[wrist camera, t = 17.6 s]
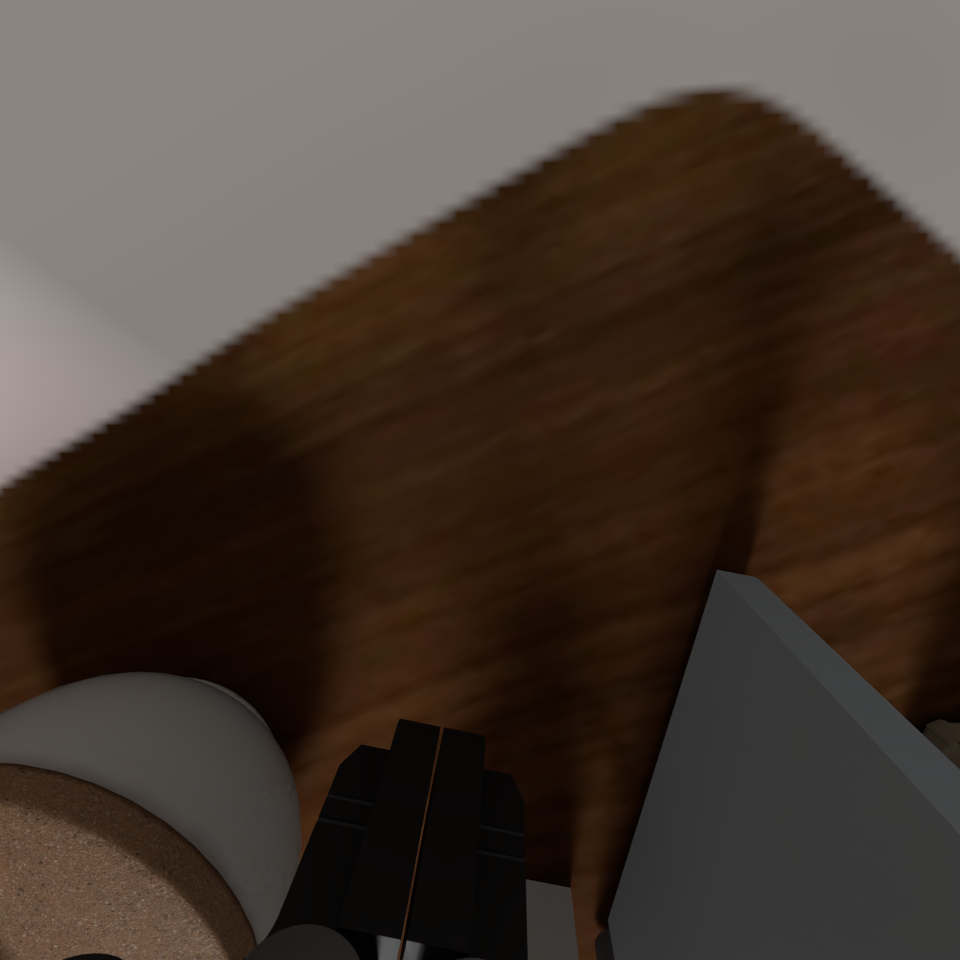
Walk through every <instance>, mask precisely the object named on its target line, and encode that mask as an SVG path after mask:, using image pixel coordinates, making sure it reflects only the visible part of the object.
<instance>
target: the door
mask: <svg viewBox="0 0 960 960" xmlns="http://www.w3.org/2000/svg"><path fill="white" fill-rule="evenodd" d="M608 924H609V928H608V929H606V930H604V931H602V932H601V933H600V934H599V935H598V936H597V938H596V941H595V949H596V956H597V960H960V769H959V768H958V767H956V766H955V765H954V764H953V763H952V762H951V761H950V760H949V759H948V758H947V757H946V756H945V755H944V754H943V753H942V752H941V751H940V750H939V749H937V748H936V747H935V746H934V745H933V744H932V743H931V742H930V741H929V740H928V739H927V738H926V737H925V736H924V735H923V734H922V733H921V732H920V731H918V730H917V729H916V728H915V727H914V726H913V725H912V724H911V723H910V722H909V721H908V720H907V719H906V718H905V717H904V716H903V715H902V714H900V713H899V712H898V711H897V710H896V709H895V708H894V707H893V706H892V705H891V704H890V703H889V702H888V701H887V700H886V699H885V698H884V697H883V696H881V695H880V694H879V693H878V692H877V691H876V690H875V689H874V688H873V687H872V686H871V685H870V684H869V683H868V682H867V681H866V680H865V679H864V678H862V677H861V676H860V675H859V674H858V673H857V672H856V671H855V670H854V669H853V668H852V667H851V666H850V665H849V664H848V663H847V662H846V661H844V660H843V659H842V658H841V657H840V656H839V655H838V654H837V653H836V652H835V651H834V650H833V649H832V648H831V647H830V646H829V645H828V644H827V643H825V642H824V641H823V640H822V639H821V638H820V637H819V636H818V635H817V634H816V633H815V632H814V631H813V630H812V629H811V628H810V627H809V626H808V625H806V624H805V623H804V622H803V621H802V620H801V619H800V618H799V617H798V616H797V615H796V614H795V613H794V612H793V611H792V610H791V609H790V608H789V607H787V606H786V605H785V604H784V603H783V602H782V601H781V600H780V599H779V598H778V597H777V596H776V595H775V594H774V593H773V592H772V591H771V590H769V589H768V588H767V587H766V586H765V585H764V584H763V583H762V582H761V581H760V580H759V579H758V578H757V577H752V576H747V575H741V574H736V573H731V572H726V571H721V570H717V571H716V574H715V578H714V581H713V584H712V587H711V591H710V594H709V597H708V600H707V603H706V607H705V610H704V613H703V616H702V619H701V623H700V626H699V629H698V632H697V635H696V639H695V642H694V645H693V648H692V651H691V655H690V658H689V661H688V664H687V667H686V671H685V674H684V677H683V680H682V684H681V687H680V690H679V693H678V696H677V700H676V703H675V706H674V709H673V712H672V716H671V719H670V722H669V725H668V728H667V732H666V735H665V738H664V741H663V744H662V748H661V751H660V754H659V757H658V760H657V764H656V767H655V770H654V773H653V777H652V780H651V783H650V786H649V789H648V793H647V796H646V799H645V802H644V805H643V809H642V812H641V815H640V818H639V821H638V825H637V828H636V831H635V834H634V837H633V841H632V844H631V847H630V850H629V853H628V857H627V860H626V863H625V866H624V870H623V873H622V876H621V879H620V882H619V886H618V889H617V892H616V895H615V898H614V902H613V905H612V908H611V911H610V914H609V918H608Z"/></svg>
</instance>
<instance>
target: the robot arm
mask: <svg viewBox="0 0 960 960" xmlns="http://www.w3.org/2000/svg"><path fill="white" fill-rule="evenodd" d="M439 733H440V727H439V726H434V725H429V724H424V723H419V722H414V721H409V720H404V719H399V722H398V725H397V728H396V731H395V735H394V738H393V741H392V745H391V748H390V750H386V749H381V748H376V747H371V746H366V745H360V746H359V747H358V748H357V749H356V750H355V751H354V752H353V753H352V754H351V755H350V756H349V757H348V758H347V759H345V760H344V761H343V762H342V763H341V764H340V766H339V768H338V770H337V773H336V775H335V778H334V780H333V783H332V785H331V788H330V790H329V793H328V797H327V798H326V800H325V802H324V805H323V807H322V810H321V812H320V815H319V818H318V821H317V822H316V824H315V827H314V829H313V832H312V834H311V837H310V839H309V842H308V844H307V847H306V849H305V851H304V854H303V856H302V859H301V861H300V864H299V866H298V869H297V871H296V873H295V876H294V878H293V881H292V883H291V886H290V888H289V891H288V893H287V896H286V898H285V900H284V903H283V905H282V908H281V910H280V913H279V915H278V917H277V919H276V921H275V923H274V926H273V927H272V929H271V930H270V932H269V933H268V935H267V936H266V938H265V939H264V940H263V941H262V942H261V943H260V944H259V945H258V946H257V947H256V948H255V949H253V950H252V952H251V953H250V954H249V955H248V956H247V957H246V958H244V959H243V960H397V956H398V951H399V946H400V941H401V936H402V931H403V925H404V920H405V915H406V909H407V904H408V899H409V893H410V888H411V883H412V877H413V872H414V866H415V861H416V856H417V850H418V845H419V840H420V834H421V829H422V824H423V818H424V813H425V808H426V802H427V797H428V792H429V786H430V781H431V775H432V770H433V765H434V759H435V754H436V749H437V743H438V738H439ZM484 753H485V736H484V735H479V734H474V733H469V732H464V731H460V730H455V729H450V728H445V727H444V731H443V735H442V740H441V745H440V750H439V755H438V760H437V765H436V770H435V774H434V779H433V784H432V789H431V794H430V799H429V804H428V809H427V814H426V819H425V824H424V830H423V835H422V840H421V846H420V851H419V857H418V862H417V868H416V873H415V879H414V884H413V890H412V895H411V901H410V906H409V912H408V917H407V923H406V928H405V934H404V939H403V945H402V950H401V955H400V960H528V944H527V904H526V864H525V838H524V833H525V822H524V801H523V799H522V797H521V795H520V793H519V791H518V788H517V786H516V784H515V782H514V780H513V778H512V776H511V775H509V774H505V773H500V772H495V771H490V770H485V769H483V768H484ZM63 960H123V959H121V958H119V957H117V956H113V955H109V954H102V953H90V954H81V955H77V956H73V957H69V958H66V959H63Z"/></svg>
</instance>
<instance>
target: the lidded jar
mask: <svg viewBox="0 0 960 960" xmlns="http://www.w3.org/2000/svg"><path fill="white" fill-rule="evenodd" d="M300 850H301V821H300V804H299V799H298V795H297V790H296V786H295V782H294V779H293V775H292V772H291V769H290V766H289V764H288V762H287V759H286V757H285V755H284V753H283V751H282V749H281V748H280V746H279V745H278V743H277V741H276V740H275V738H274V736H273V734H272V732H271V729H270V728H269V726H268V725H267V723H266V722H265V720H264V718H263V717H262V716H261V715H260V714H259V713H258V711H257V710H256V709H255V708H254V707H253V706H252V705H251V704H250V703H248V702H247V701H246V700H245V699H244V698H242V697H241V696H239V695H238V694H236V693H235V692H233V691H232V690H230V689H228V688H226V687H223V686H221V685H219V684H216V683H213V682H210V681H208V680H204V679H198V678H193V677H182V676H177V675H172V674H167V673H157V672H128V673H117V674H107V675H101V676H97V677H93V678H89V679H85V680H82V681H78V682H74V683H70V684H67V685H63V686H59V687H57V688H55V689H52V690H50V691H48V692H46V693H43V694H41V695H39V696H37V697H34V698H32V699H30V700H28V701H25V702H23V703H21V704H19V705H17V706H14V707H12V708H10V709H8V710H5V711H4V712H2V713H0V960H63V959H66V958H69V957H73V956H77V955H81V954H90V953H102V954H109V955H113V956H117V957H119V958H121V959H123V960H243V959H244V958H246V957H247V956H248V955H249V954H250V953H251V952H252V950H253V949H255V948H256V947H257V946H258V945H259V944H260V943H261V942H262V941H263V940H264V939H265V938H266V936H267V935H268V933H269V932H270V930H271V929H272V927H273V926H274V923H275V921H276V919H277V917H278V915H279V913H280V910H281V908H282V905H283V903H284V900H285V898H286V896H287V893H288V891H289V888H290V886H291V883H292V881H293V878H294V876H295V873H296V871H297V869H298V865H299V857H300Z"/></svg>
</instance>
